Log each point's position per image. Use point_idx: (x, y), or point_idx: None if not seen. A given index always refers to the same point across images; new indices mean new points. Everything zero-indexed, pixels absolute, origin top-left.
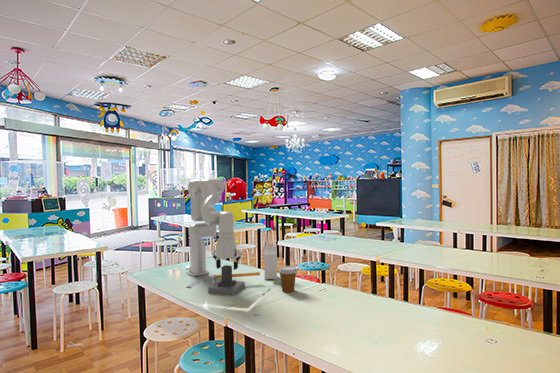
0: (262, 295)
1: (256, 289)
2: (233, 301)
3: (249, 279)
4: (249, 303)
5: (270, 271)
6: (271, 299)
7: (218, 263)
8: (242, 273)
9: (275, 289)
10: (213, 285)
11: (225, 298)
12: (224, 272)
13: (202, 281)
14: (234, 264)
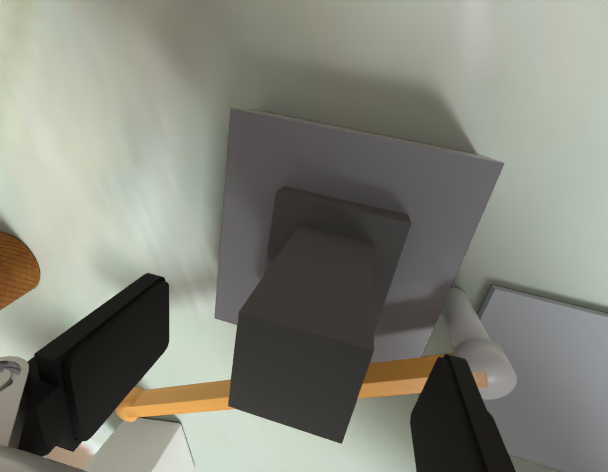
0: (97, 178)
1: (169, 283)
2: (233, 30)
3: (262, 440)
4: (110, 2)
5: (121, 464)
6: (22, 108)
7: (455, 448)
8: (226, 403)
9: (75, 280)
10: (455, 230)
11: (314, 94)
12: (327, 287)
13: (579, 440)
14: (87, 321)
